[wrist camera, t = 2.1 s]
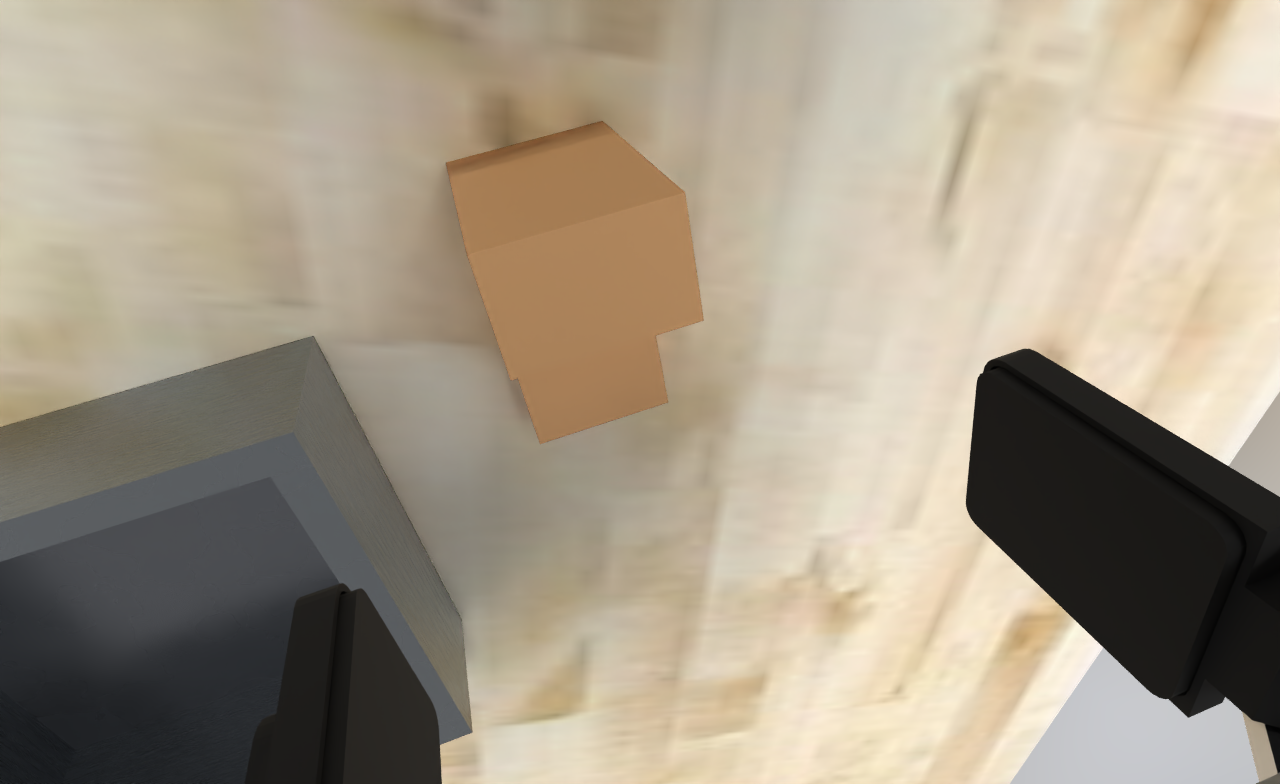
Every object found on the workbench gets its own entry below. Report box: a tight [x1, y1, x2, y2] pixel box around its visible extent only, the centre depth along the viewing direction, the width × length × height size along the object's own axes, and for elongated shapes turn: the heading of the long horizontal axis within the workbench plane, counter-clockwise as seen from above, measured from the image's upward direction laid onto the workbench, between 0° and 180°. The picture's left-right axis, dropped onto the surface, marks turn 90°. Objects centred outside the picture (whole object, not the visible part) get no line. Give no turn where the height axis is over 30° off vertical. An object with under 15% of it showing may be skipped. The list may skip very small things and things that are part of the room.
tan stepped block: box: [446, 121, 704, 444], centre depth 19 cm, size 9×4×7 cm, turn 11°
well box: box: [0, 336, 472, 784], centre depth 22 cm, size 14×15×5 cm
